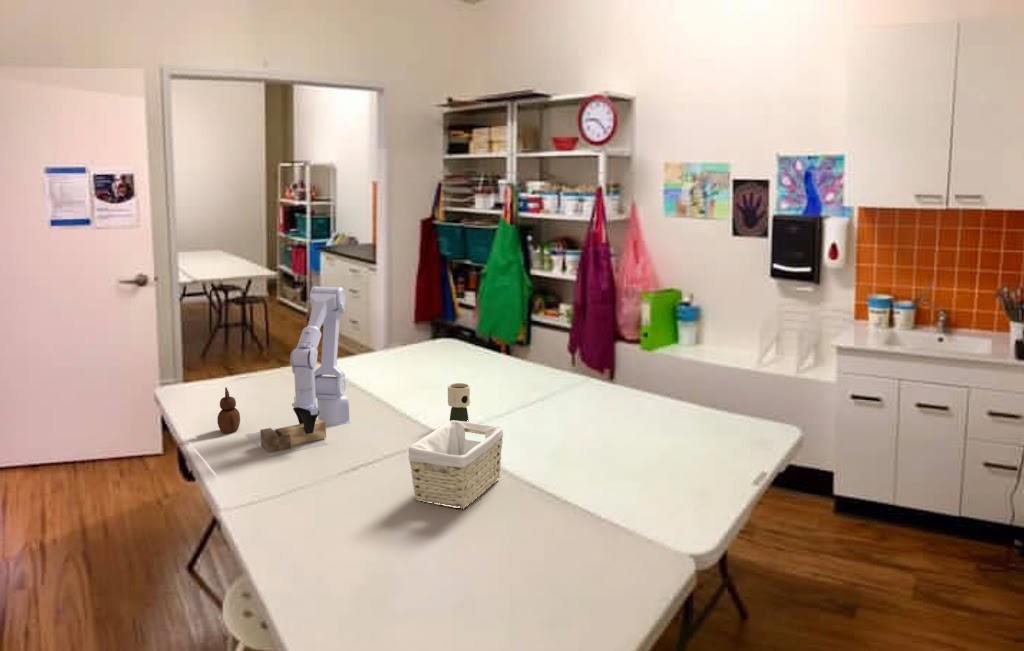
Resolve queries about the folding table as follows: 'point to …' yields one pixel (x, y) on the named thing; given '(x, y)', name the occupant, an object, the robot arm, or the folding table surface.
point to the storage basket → (455, 463)
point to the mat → (257, 440)
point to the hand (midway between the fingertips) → (307, 431)
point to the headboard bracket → (274, 441)
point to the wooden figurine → (228, 414)
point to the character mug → (459, 401)
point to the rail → (303, 433)
